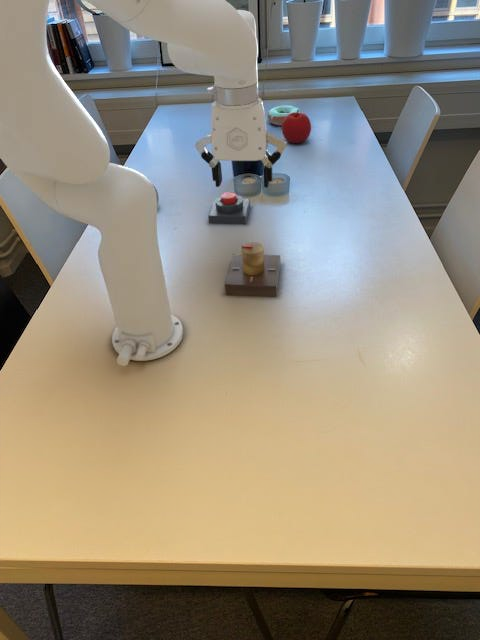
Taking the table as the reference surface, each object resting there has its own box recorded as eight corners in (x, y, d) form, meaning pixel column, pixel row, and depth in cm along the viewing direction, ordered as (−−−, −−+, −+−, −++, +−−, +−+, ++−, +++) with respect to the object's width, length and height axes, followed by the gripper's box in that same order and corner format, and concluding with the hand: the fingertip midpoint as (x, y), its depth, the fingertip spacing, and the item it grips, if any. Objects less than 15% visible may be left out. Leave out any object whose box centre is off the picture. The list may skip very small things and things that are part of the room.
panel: (276, 296, 95) (276, 285, 94) (225, 294, 97) (224, 283, 95) (280, 265, 104) (280, 254, 102) (233, 263, 105) (232, 253, 103)
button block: (245, 224, 118) (245, 209, 115) (209, 223, 119) (207, 208, 116) (250, 207, 125) (249, 192, 122) (215, 206, 126) (214, 192, 123)
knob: (265, 263, 100) (265, 240, 97) (263, 275, 97) (262, 252, 93) (244, 262, 101) (243, 240, 97) (241, 274, 97) (239, 252, 94)
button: (235, 205, 118) (235, 198, 117) (220, 205, 118) (220, 198, 117) (237, 198, 121) (237, 191, 120) (223, 198, 121) (222, 191, 120)
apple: (312, 136, 160) (313, 104, 154) (308, 147, 153) (309, 114, 147) (284, 135, 162) (284, 104, 156) (279, 145, 155) (279, 113, 149)
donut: (302, 115, 176) (302, 104, 174) (300, 127, 167) (300, 115, 165) (269, 116, 178) (268, 104, 175) (265, 127, 169) (265, 115, 166)
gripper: (184, 101, 85) (196, 192, 96) (284, 99, 82) (284, 193, 93) (194, 88, 91) (204, 175, 102) (287, 86, 88) (287, 176, 99)
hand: (242, 184), depth 98 cm, fingers open, 9 cm apart
